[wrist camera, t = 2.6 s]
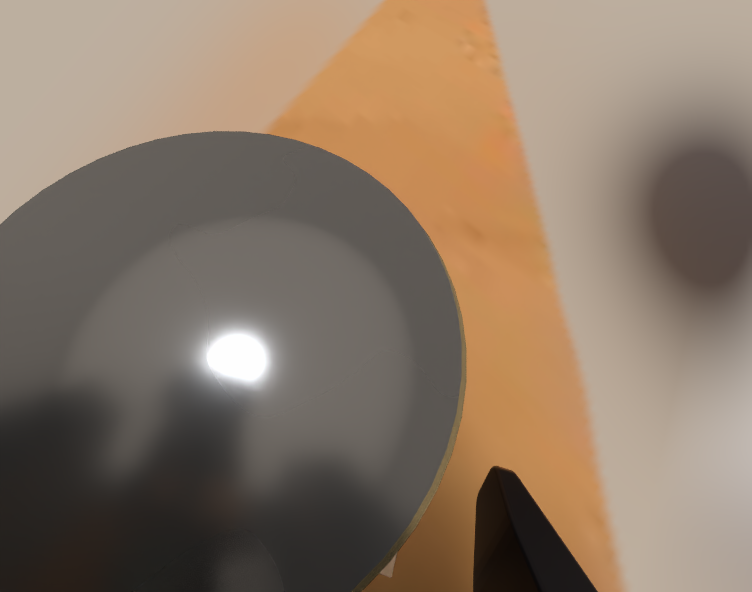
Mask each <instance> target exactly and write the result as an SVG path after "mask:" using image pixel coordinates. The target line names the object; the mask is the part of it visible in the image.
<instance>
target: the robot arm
mask: <svg viewBox="0 0 752 592" xmlns="http://www.w3.org/2000/svg"><path fill="white" fill-rule="evenodd" d="M473 592H598V591H597V590H596V588H595V587H594V585H593V584H592V583H591V581H590V580H589V578H588V577H587V575H586V574H585V573H584V571H583V570H582V568H581V567H580V565H579V564H578V562H577V561H576V560H575V558H574V557H573V555H572V554H571V552H570V551H569V549H568V548H567V547H566V545H565V544H564V542H563V541H562V539H561V538H560V537H559V535H558V534H557V532H556V531H555V529H554V528H553V526H552V525H551V524H550V522H549V521H548V519H547V518H546V516H545V515H544V513H543V512H542V511H541V509H540V508H539V506H538V505H537V503H536V502H535V501H534V499H533V498H532V496H531V495H530V493H529V492H528V490H527V489H526V488H525V486H524V485H523V483H522V482H521V480H520V479H519V477H518V476H517V475H516V474H515V473H514V472H513V471H511V470H508V469H505V468H502V467H499V466H493V467H492V468H491V469H490V471H489V473H488V475H487V477H486V479H485V481H484V483H483V485H482V487H481V489H480V491H479V493H478V496H477V502H476V523H475V547H474V571H473Z"/></svg>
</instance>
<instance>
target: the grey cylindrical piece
mask: <svg viewBox="0 0 752 592" xmlns="http://www.w3.org/2000/svg"><path fill="white" fill-rule="evenodd" d="M465 388H466V342H465V335H464V327H463V319H462V314H461V311H460V307H459V303H458V300H457V296H456V292H455V288H454V286H453V283H452V281H451V278H450V276H449V274H448V271H447V269H446V266H445V264H444V262H443V260H442V258H441V256H440V254H439V253H438V251H437V249H436V248H435V246H434V244H433V242H432V241H431V239H430V237H429V236H428V234H427V233H426V232H425V230H424V229H423V228H422V227H421V225H420V224H419V223H418V221H417V220H416V219H415V217H414V216H413V215H412V213H411V212H410V211H409V210H408V208H407V207H406V206H405V205H404V204H403V203H402V202H401V201H400V200H399V199H398V198H397V197H396V196H395V195H394V194H393V193H392V192H391V191H390V190H389V189H388V188H386V187H385V186H384V185H382V184H381V183H380V182H379V181H377V180H376V179H375V178H373V177H372V176H371V175H370V174H368V173H367V172H365V171H364V170H362V169H360V168H359V167H357V166H355V165H354V164H352V163H350V162H349V161H347V160H345V159H343V158H341V157H339V156H337V155H334V154H332V153H330V152H328V151H326V150H324V149H321V148H318V147H315V146H312V145H309V144H306V143H303V142H300V141H297V140H293V139H288V138H284V137H279V136H274V135H269V134H260V133H250V132H229V131H228V132H227V131H225V132H224V131H223V132H222V131H217V132H216V131H213V132H202V133H191V134H183V135H178V136H173V137H167V138H162V139H157V140H153V141H150V142H146V143H143V144H139V145H136V146H132V147H129V148H126V149H124V150H121V151H118V152H116V153H113V154H111V155H108V156H105V157H103V158H100V159H98V160H96V161H94V162H92V163H90V164H88V165H86V166H84V167H82V168H80V169H78V170H76V171H74V172H72V173H70V174H68V175H66V176H65V177H64V178H62V179H60V180H58V181H57V182H55V183H54V184H52V185H50V186H49V187H47V188H45V189H44V190H42V191H41V192H40V193H38V194H37V195H36V196H34V197H33V198H32V199H30V200H29V201H28V202H26V203H25V204H24V205H22V206H21V207H20V208H18V209H17V210H16V211H15V212H13V213H12V214H11V215H10V216H9V217H8V218H7V219H6V220H5V221H4V222H3V223H2V224H0V592H361V591H362V590H363V589H364V588H365V587H366V586H367V585H368V584H369V583H370V582H371V581H372V580H373V579H374V578H375V577H376V576H377V575H378V574H379V573H380V572H381V571H382V570H383V569H384V568H385V567H386V566H387V565H388V564H389V563H390V561H391V560H392V559H393V557H394V556H395V555H396V553H397V552H398V551H399V549H400V548H401V547H402V545H403V544H404V543H405V541H406V540H407V539H408V537H409V536H410V535H411V533H412V532H413V531H414V529H415V528H416V527H417V525H418V523H419V521H420V520H421V518H422V516H423V514H424V513H425V511H426V509H427V507H428V506H429V504H430V502H431V500H432V499H433V497H434V495H435V493H436V491H437V489H438V487H439V484H440V482H441V479H442V477H443V475H444V472H445V470H446V467H447V465H448V462H449V460H450V458H451V455H452V452H453V448H454V444H455V441H456V437H457V433H458V429H459V426H460V422H461V418H462V411H463V403H464V396H465Z"/></svg>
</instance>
